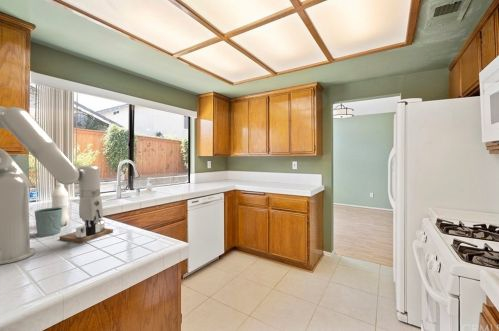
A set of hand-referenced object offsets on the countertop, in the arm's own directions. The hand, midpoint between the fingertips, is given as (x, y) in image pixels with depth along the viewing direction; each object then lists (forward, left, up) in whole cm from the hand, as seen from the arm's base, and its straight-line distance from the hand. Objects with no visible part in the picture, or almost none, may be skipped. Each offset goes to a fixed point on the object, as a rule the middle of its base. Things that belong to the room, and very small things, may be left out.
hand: (90, 234), depth 99 cm
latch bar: (+4, +5, -1) cm, 7 cm away
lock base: (+5, +9, -3) cm, 11 cm away
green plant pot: (+1, +30, -3) cm, 30 cm away
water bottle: (+12, +40, -3) cm, 42 cm away
